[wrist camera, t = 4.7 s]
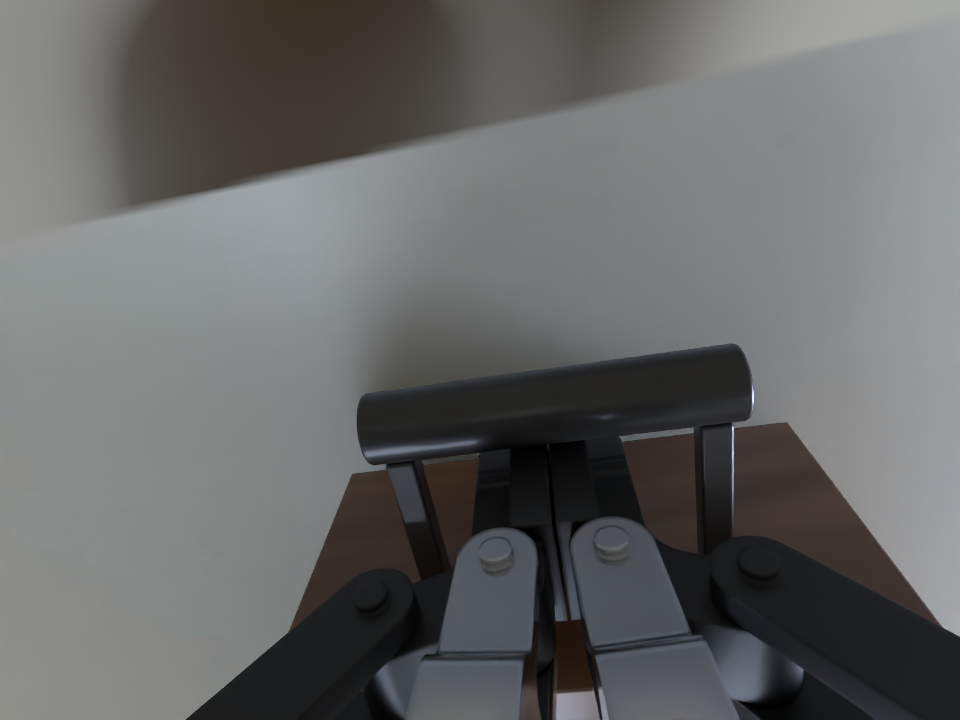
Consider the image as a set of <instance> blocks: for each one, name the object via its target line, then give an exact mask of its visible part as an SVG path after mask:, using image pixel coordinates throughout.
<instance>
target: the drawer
mask: <svg viewBox="0 0 960 720" xmlns="http://www.w3.org/2000/svg"><path fill="white" fill-rule="evenodd" d="M753 406H754V388H753V380H752V375H751V371H750V367H749V364H748V361H747V359H746V357H745V355H744V353H743V351H742V349H741V348H740V347H739V346H738V345H736V344H725V345H717V346H710V347H703V348H695V349H688V350H681V351H674V352H666V353H659V354H652V355H644V356H637V357H630V358H622V359H615V360H608V361H600V362H593V363H586V364H578V365H571V366H564V367H556V368H549V369H542V370H535V371H527V372H520V373H513V374H505V375H498V376H491V377H483V378H476V379H469V380H461V381H454V382H447V383H439V384H432V385H425V386H418V387H410V388H403V389H396V390H388V391H381V392H374V393H367V394H365V395H363V396H362V397H361V399H360V401H359V404H358V409H357V433H358V439H359V444H360V447H361V450H362V453H363V455H364V457H365V459H366V461H367V462H368V463H369V464H372V465H381V464H386V470H380V471H372V472H363V473H355V474H352V476H351V478H350V481H349V483H348V486H347V488H346V491H345V493H344V496H343V498H342V501H341V503H340V506H339V508H338V511H337V513H336V516H335V518H334V520H333V523H332V525H331V528H330V530H329V533H328V535H327V538H326V540H325V543H324V545H323V548H322V550H321V553H320V555H319V558H318V560H317V563H316V565H315V568H314V570H313V573H312V575H311V578H310V580H309V583H308V585H307V588H306V590H305V593H304V595H303V598H302V600H301V602H300V605H299V607H298V610H297V612H296V615H295V617H294V620H293V622H292V625H291V627H290V630H289V632H290V631H291V630H292V629H293V628H294V627H295V626H297V625H298V624H299V623H300V622H301V621H303V620H304V619H305V618H306V617H307V616H308V615H310V614H311V613H312V612H313V611H314V610H316V609H317V608H318V607H319V606H320V605H321V604H323V603H324V602H325V601H326V600H327V599H329V598H330V597H331V596H332V595H333V594H334V593H336V592H337V591H338V590H339V589H340V588H341V587H343V586H344V585H345V584H346V583H347V582H349V581H350V580H351V579H353V578H354V577H356V576H358V575H360V574H362V573H364V572H367V571H370V570H373V569H379V568H391V569H396V570H399V571H401V572H403V573H404V574H406V575H407V576H408V577H409V579H410V580H411V582H412V584H413V583H416V582H419V581H421V580H424V579H427V578H430V577H432V576H435V575H437V574H440V573H442V572H444V571H446V570H448V569H449V568H451V567H452V566H453V565H455V564H456V560H457V556H458V553H459V551H460V549H461V548H462V546H463V545H464V544H465V543H466V542H467V541H468V540H469V539H470V538H471V536H472V526H473V515H474V505H475V494H476V489H477V486H476V484H477V475H478V463H479V459H473V460H464V461H456V462H447V463H439V464H431V465H423V464H422V460H423V459H431V458H439V457H448V456H456V455H464V454H473V453H481V452H489V451H498V450H506V449H514V448H522V447H531V446H539V445H547V444H556V443H564V442H572V441H581V440H589V439H597V438H606V437H614V436H622V435H631V434H639V433H647V432H656V431H664V430H672V429H681V428H689V427H694V433H692V434H683V435H675V436H667V437H658V438H650V439H641V440H633V441H624V442H622V446H623V449H624V453H625V458H626V460H627V464H628V467H629V472H630V474H631V478H632V481H633V485H634V489H635V492H636V496H637V499H638V503H639V506H640V510H641V514H642V517H643V521H644V523H645V526H646V527H647V529H648V531H649V532H650V533H651V534H652V535H653V536H654V537H655V538H656V539H658V540H659V541H661V542H662V543H664V544H666V545H668V546H670V547H672V548H675V549H678V550H681V551H686V552H692V553H698V554H704V555H711V553H712V552H713V550H714V549H715V548H716V547H717V546H718V545H719V544H720V543H722V542H723V541H725V540H728V539H730V538H733V537H738V536H761V537H766V538H770V539H773V540H776V541H779V542H781V543H783V544H785V545H787V546H789V547H791V548H793V549H795V550H797V551H798V552H800V553H802V554H804V555H806V556H808V557H810V558H812V559H814V560H815V561H817V562H819V563H821V564H823V565H825V566H827V567H829V568H831V569H832V570H834V571H836V572H838V573H840V574H842V575H844V576H846V577H848V578H849V579H851V580H853V581H855V582H857V583H859V584H861V585H863V586H865V587H866V588H868V589H870V590H872V591H874V592H876V593H878V594H880V595H882V596H883V597H885V598H887V599H889V600H891V601H893V602H895V603H897V604H899V605H900V606H902V607H904V608H906V609H908V610H910V611H912V612H914V613H916V614H917V615H919V616H921V617H923V618H925V619H927V620H929V621H931V622H933V623H934V624H936V625H938V626H940V627H942V626H941V625H940V623H939V622H938V621H937V619H936V618H935V617H934V615H933V614H932V613H931V611H930V610H929V609H928V608H927V606H926V605H925V604H924V602H923V601H922V600H921V598H920V597H919V596H918V594H917V593H916V592H915V590H914V589H913V588H912V586H911V585H910V584H909V582H908V581H907V580H906V579H905V577H904V576H903V575H902V573H901V572H900V571H899V569H898V568H897V567H896V565H895V564H894V563H893V561H892V560H891V559H890V557H889V556H888V555H887V553H886V552H885V551H884V550H883V548H882V547H881V546H880V544H879V543H878V542H877V540H876V539H875V538H874V536H873V535H872V534H871V532H870V531H869V530H868V528H867V527H866V526H865V524H864V523H863V522H862V521H861V519H860V518H859V517H858V515H857V514H856V513H855V511H854V510H853V509H852V507H851V506H850V505H849V503H848V502H847V501H846V499H845V498H844V497H843V495H842V494H841V493H840V492H839V490H838V489H837V488H836V486H835V485H834V484H833V482H832V481H831V480H830V478H829V477H828V476H827V474H826V473H825V472H824V470H823V469H822V468H821V466H820V465H819V464H818V463H817V461H816V460H815V459H814V457H813V456H812V455H811V453H810V452H809V451H808V449H807V448H806V447H805V445H804V444H803V443H802V441H801V440H800V439H799V437H798V436H797V435H796V434H795V432H794V431H793V430H792V428H791V427H790V426H789V424H788V423H786V422H784V423H776V424H768V425H759V426H751V427H742V428H734V425H733V423H732V422H739V421H746V420H747V419H749V418H750V417H751V415H752V412H753ZM563 575H564V571H563ZM564 586H565V597H566V607H567V618H568V621H556V634H557V648H556V658H557V704H556V720H599V718H598V713H597V708H596V703H595V698H594V693H593V688H592V683H591V679H590V674H589V669H588V664H587V658H586V651H585V644H584V638H583V631H582V624H581V619H579V620H571V615H570V608H569V602H568V596H567V590H566V583H565V577H564ZM942 628H943V627H942Z"/></svg>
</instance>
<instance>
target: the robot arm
mask: <svg viewBox="0 0 960 720" xmlns="http://www.w3.org/2000/svg"><path fill="white" fill-rule="evenodd" d="M476 486H477V489H476V494H475V505H474V515H473V526H472V536H471V538H470V539H469V540H468V541H467V542H466V543H465V544H464V545H463V546H462V548H461V549H460V551H459V553H458V556H457V560H456V564H455V565H453V566H452V567H451V568H449V569H448V570H446V571H444V572H442V573H440V574H437V575H435V576H432V577H430V578H427V579H424V580H421V581H419V582H416V583H413V584H412V582H411V580H410V579H409V577H408V576H407V575H406V574H404V573H403V572H401V571H399V570H396V569H391V568H379V569H373V570H370V571H367V572H364V573H362V574H360V575H358V576H356V577H354V578H353V579H351V580H350V581H349V582H347V583H346V584H345V585H344V586H343V587H341V588H340V589H339V590H338V591H337V592H336V593H334V594H333V595H332V596H331V597H330V598H329V599H327V600H326V601H325V602H324V603H323V604H321V605H320V606H319V607H318V608H317V609H316V610H314V611H313V612H312V613H311V614H310V615H308V616H307V617H306V618H305V619H304V620H303V621H301V622H300V623H299V624H298V625H297V626H295V627H294V628H293V629H292V630H291V631H290V632H288V633H287V634H286V635H285V636H284V637H283V638H281V639H280V640H279V641H278V642H277V643H275V644H274V645H273V646H272V647H271V648H270V649H268V650H267V651H266V652H265V653H264V654H262V655H261V656H260V657H259V658H258V659H257V660H255V661H254V662H253V663H252V664H251V665H250V666H248V667H247V668H246V669H245V670H244V671H242V672H241V673H240V674H239V675H238V676H237V677H235V678H234V679H233V680H232V681H231V682H229V683H228V684H227V685H226V686H225V687H224V688H222V689H221V690H220V691H219V692H218V693H216V694H215V695H214V696H213V697H212V698H211V699H209V700H208V701H207V702H206V703H205V704H204V705H202V706H201V707H200V708H199V709H198V710H196V711H195V712H194V713H193V714H192V715H191V716H189V717H188V718H187V719H186V720H556V704H557V658H556V648H557V634H556V621H568V618H567V607H566V597H565V586H564V577H565V583H566V590H567V596H568V602H569V608H570V615H571V620H579V619H581V624H582V631H583V638H584V644H585V651H586V658H587V664H588V669H589V674H590V679H591V683H592V688H593V693H594V698H595V703H596V708H597V713H598V718H599V720H960V637H959V636H957V635H955V634H953V633H951V632H950V631H948V630H946V629H944V628H942V627H940V626H938V625H936V624H934V623H933V622H931V621H929V620H927V619H925V618H923V617H921V616H919V615H917V614H916V613H914V612H912V611H910V610H908V609H906V608H904V607H902V606H900V605H899V604H897V603H895V602H893V601H891V600H889V599H887V598H885V597H883V596H882V595H880V594H878V593H876V592H874V591H872V590H870V589H868V588H866V587H865V586H863V585H861V584H859V583H857V582H855V581H853V580H851V579H849V578H848V577H846V576H844V575H842V574H840V573H838V572H836V571H834V570H832V569H831V568H829V567H827V566H825V565H823V564H821V563H819V562H817V561H815V560H814V559H812V558H810V557H808V556H806V555H804V554H802V553H800V552H798V551H797V550H795V549H793V548H791V547H789V546H787V545H785V544H783V543H781V542H779V541H776V540H773V539H770V538H766V537H761V536H738V537H733V538H730V539H728V540H725V541H723V542H722V543H720V544H719V545H718V546H717V547H716V548H715V549H714V550H713V552H712V553H711V555H704V554H698V553H692V552H686V551H681V550H678V549H675V548H672V547H670V546H668V545H666V544H664V543H662V542H661V541H659V540H658V539H656V538H655V537H654V536H653V535H652V534H651V533H650V532H649V531H648V529H647V527H646V526H645V523H644V521H643V517H642V514H641V510H640V506H639V503H638V499H637V496H636V492H635V489H634V485H633V481H632V478H631V474H630V472H629V467H628V464H627V460H626V458H625V453H624V449H623V446H622V442H621V439H620V438H619V437H618V436H614V437H606V438H597V439H589V440H581V441H572V442H564V443H556V444H547V445H539V446H531V447H522V448H514V449H506V450H498V451H489V452H482V453H481V454H480V455H479V463H478V475H477V484H476ZM563 571H564V575H563Z"/></svg>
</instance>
